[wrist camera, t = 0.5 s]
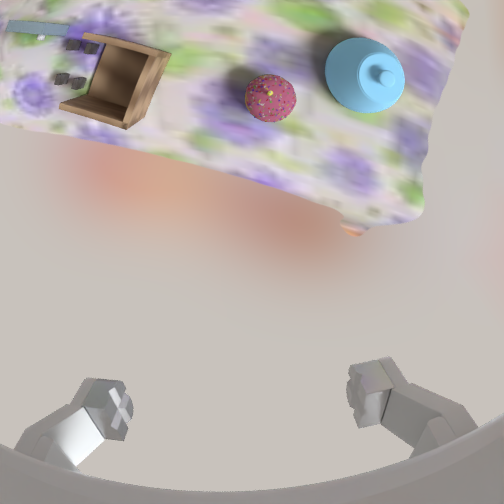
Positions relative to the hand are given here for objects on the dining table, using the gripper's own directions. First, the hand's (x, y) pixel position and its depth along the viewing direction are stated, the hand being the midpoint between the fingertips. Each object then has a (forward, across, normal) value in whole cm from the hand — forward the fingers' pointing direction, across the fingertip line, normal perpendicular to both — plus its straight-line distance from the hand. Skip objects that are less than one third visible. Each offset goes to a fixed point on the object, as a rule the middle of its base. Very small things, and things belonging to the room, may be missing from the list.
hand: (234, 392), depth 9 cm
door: (+38, +34, -42) cm, 66 cm away
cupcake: (+47, -7, -19) cm, 51 cm away
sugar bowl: (+46, -24, -23) cm, 57 cm away
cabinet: (+43, +21, -28) cm, 55 cm away
